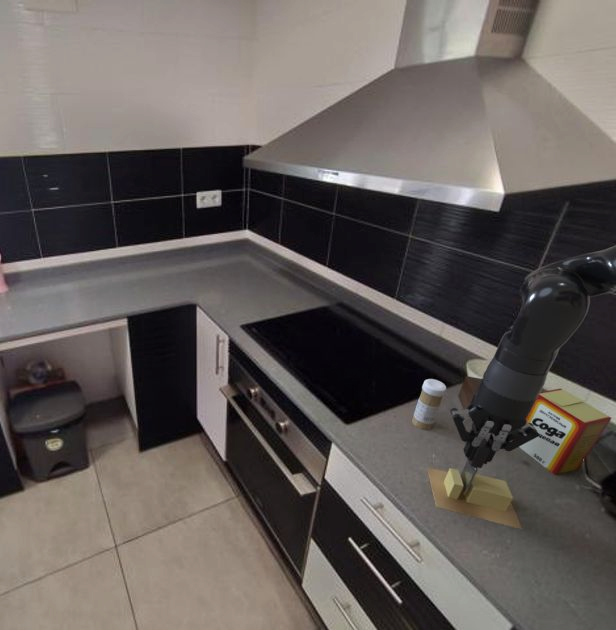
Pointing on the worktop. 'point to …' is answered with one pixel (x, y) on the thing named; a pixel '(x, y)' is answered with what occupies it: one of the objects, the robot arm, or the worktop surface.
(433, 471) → the butter board
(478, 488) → the butter block
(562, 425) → the baking soda box
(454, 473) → the butter slice
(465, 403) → the knife block
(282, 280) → the worktop surface
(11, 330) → the worktop surface
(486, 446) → the knife
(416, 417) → the sprinkles bottle
